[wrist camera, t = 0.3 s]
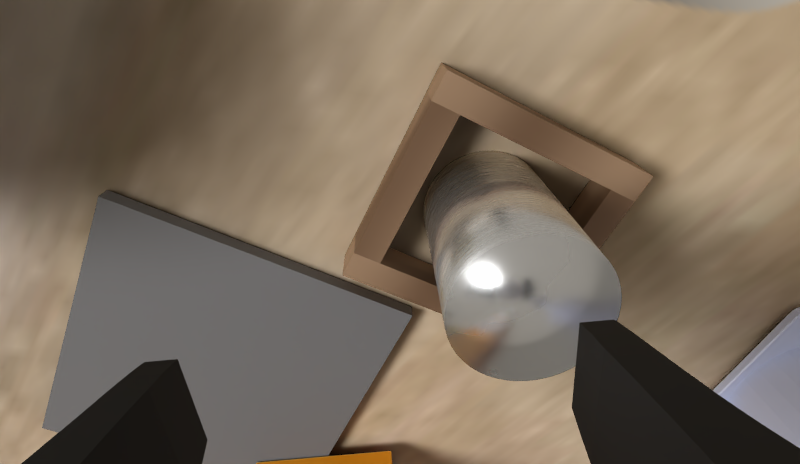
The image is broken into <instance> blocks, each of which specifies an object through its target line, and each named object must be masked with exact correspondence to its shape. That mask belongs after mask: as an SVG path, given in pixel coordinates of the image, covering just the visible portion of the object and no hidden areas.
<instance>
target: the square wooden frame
mask: <svg viewBox="0 0 800 464" xmlns="http://www.w3.org/2000/svg"><path fill="white" fill-rule="evenodd" d="M460 115H461V116H463V117H465V118H467V119H469V120H471V121H473V122H475V123H477V124H479V125H481V126H483V127H485V128H487V129H489V130H491V131H493V132H495V133H497V134H499V135H501V136H503V137H505V138H507V139H509V140H511V141H514V142H516V143H518V144H520V145H522V146H524V147H526V148H528V149H530V150H532V151H534V152H536V153H538V154H540V155H542V156H544V157H546V158H548V159H550V160H552V161H554V162H556V163H558V164H560V165H562V166H564V167H566V168H568V169H570V170H572V171H574V172H576V173H578V174H580V175H582V176H584V177H586V178H588V179H590V181H589V182H588V183H587V185H586V186H585V188H584V189H583V191H582V192H581V194H580V195H579V197H578V198H577V199H576V201H575V202H574V204H573V205H572V207H571V208H570V210H569V211H568V212H569V214H570V215H571V216H572V217H573V218H574V220H575V221H576V222H577V223H578V224H579V226H580V227H581V228H582V229H583V230H584V232H585V233H586V234H587V235H588V236H589V238H590V239H591V240H592V241H593V242H594V244H595V245H596V246H597V247H598V248H599V249H600V248H601V246H602V245H603V244H604V242H605V241H606V240H607V238H608V237H609V236H610V234H611V233H612V232H613V230H614V229H615V228H616V226H617V225H618V224H619V222H620V221H621V219H622V218H623V217H624V215H625V214H626V213H627V211H628V210H629V209H630V207H631V206H632V205H633V203H634V202H635V201H636V199H637V198H638V197H639V195H640V194H641V193H642V191H643V190H644V189H645V187H646V186H647V185H648V183H649V182H650V181H651V179H652V178H653V177H654V176H652V175H651V174H649V173H648V172H646V171H645V170H644V169H642V168H641V167H639V166H638V165H636V164H635V163H634V162H632V161H630V160H628V159H626V158H624V157H622V156H620V155H618V154H616V153H615V152H613V151H611V150H609V149H607V148H605V147H603V146H601V145H599V144H597V143H595V142H593V141H591V140H590V139H588V138H586V137H584V136H582V135H580V134H578V133H576V132H574V131H572V130H570V129H568V128H566V127H564V126H563V125H561V124H559V123H557V122H555V121H553V120H551V119H549V118H547V117H545V116H543V115H541V114H539V113H537V112H536V111H534V110H532V109H530V108H528V107H526V106H524V105H522V104H520V103H518V102H516V101H514V100H512V99H511V98H509V97H507V96H505V95H503V94H501V93H499V92H497V91H495V90H493V89H491V88H489V87H487V86H485V85H484V84H482V83H480V82H478V81H476V80H474V79H472V78H470V77H468V76H466V75H464V74H462V73H460V72H458V71H457V70H455V69H453V68H451V67H449V66H447V65H445V64H443V63H441V64H440V66H439V68H438V70H437V72H436V74H435V76H434V78H433V80H432V82H431V84H430V86H429V88H428V90H427V92H426V94H425V96H424V98H423V100H422V102H421V104H420V106H419V108H418V110H417V112H416V114H415V116H414V118H413V120H412V122H411V124H410V126H409V128H408V130H407V132H406V134H405V136H404V138H403V140H402V142H401V144H400V146H399V148H398V150H397V152H396V154H395V156H394V158H393V160H392V162H391V164H390V166H389V168H388V170H387V172H386V174H385V176H384V178H383V180H382V182H381V184H380V186H379V188H378V190H377V192H376V194H375V196H374V198H373V200H372V202H371V204H370V206H369V208H368V210H367V212H366V214H365V216H364V218H363V220H362V222H361V224H360V226H359V228H358V230H357V232H356V234H355V236H354V238H353V240H352V242H351V244H350V246H349V248H348V250H347V252H346V254H345V260H344V268H343V276H346V277H348V278H351V279H353V280H356V281H358V282H361V283H364V284H366V285H369V286H371V287H374V288H377V289H379V290H382V291H384V292H387V293H389V294H392V295H395V296H397V297H400V298H402V299H405V300H408V301H410V302H413V303H415V304H418V305H420V306H423V307H426V308H428V309H431V310H433V311H436V312H439V313H441V314H442V310H441V305H440V299H439V294H438V289H437V284H436V279H435V274H434V268H433V265H431V264H428V263H426V262H424V261H421V260H419V259H416V258H414V257H411V256H409V255H407V254H404V253H402V252H399V251H397V250H394V249H392V248H389V246H390V244H391V242H392V240H393V239H394V237H395V235H396V233H397V231H398V229H399V227H400V226H401V224H402V222H403V220H404V218H405V216H406V214H407V213H408V211H409V209H410V207H411V205H412V203H413V201H414V200H415V198H416V196H417V194H418V192H419V190H420V188H421V187H422V185H423V183H424V181H425V179H426V177H427V175H428V174H429V172H430V170H431V168H432V166H433V164H434V162H435V161H436V159H437V157H438V155H439V153H440V151H441V150H442V148H443V146H444V144H445V142H446V140H447V138H448V137H449V135H450V133H451V131H452V129H453V127H454V125H455V124H456V122H457V120H458V118H459V116H460Z"/></svg>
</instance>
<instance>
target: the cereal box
mask: <svg viewBox="0 0 800 464" xmlns="http://www.w3.org/2000/svg"><path fill="white" fill-rule="evenodd" d="M256 464H393V463H392V454H391V451H383V452H371V453H360V454H349V455H337V456H326V457H314V458H303V459H291V460H280V461H269V462H257V463H256Z"/></svg>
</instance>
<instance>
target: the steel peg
mask: <svg viewBox="0 0 800 464" xmlns="http://www.w3.org/2000/svg"><path fill="white" fill-rule="evenodd" d="M423 214H424V222H425V227H426V232H427V238H428V243H429V248H430V253H431V258H432V263H433V268H434V274H435V279H436V284H437V289H438V294H439V299H440V305H441V310H442V315H443V320H444V325H445V330H446V334H447V337H448V340H449V342H450V344H451V346H452V348H453V349H454V351H455V352H456V354H457V355H458V356H459V357H460V358H461V359H462V360H463V361H464V362H465V363H466V364H468V365H469V366H470V367H472V368H473V369H475V370H477V371H478V372H481V373H483V374H485V375H487V376H491V377H494V378H498V379H503V380H511V381H530V380H538V379H543V378H547V377H551V376H554V375H557V374H560V373H562V372H565V371H567V370H569V369H571V368H573V367H575V366H576V357H577V346H578V335H579V323H580V322H591V321H602V320H613V319H614V320H616V321H617V319H618V317H619V313H620V309H621V301H622V293H621V285H620V281H619V278H618V276H617V273H616V271H615V269H614V268H613V266H612V265H611V263H610V262H609V260H608V259H607V258H606V257H605V256H604V254H603V253H602V252H601V251H600V250H599V248H598V247H597V246H596V245H595V244H594V242H593V241H592V240H591V239H590V238H589V236H588V235H587V234H586V233H585V232H584V230H583V229H582V228H581V227H580V226H579V224H578V223H577V222H576V221H575V220H574V218H573V217H572V216H571V215H570V214H569V212H568V211H567V210H566V209H565V208H564V206H563V205H562V204H561V203H560V202H559V200H558V199H557V198H556V197H555V196H554V194H553V193H552V192H551V191H550V190H549V188H548V187H547V186H546V185H545V184H544V182H543V181H542V180H541V179H540V178H539V176H538V175H537V174H536V173H535V172H534V170H533V169H532V168H531V167H530V166H529V165H528V164H526V163H525V162H524V161H523V160H521V159H519V158H517V157H515V156H513V155H511V154H508V153H504V152H498V151H481V152H475V153H471V154H468V155H465V156H463V157H460V158H458V159H457V160H455V161H453V162H452V163H450V164H449V165H447V166H446V167H445V168H444V169H443V170H442V171H441V172H440V173H439V174H438V175H437V176H436V177H435V179H434V180H433V182H432V183H431V185H430V187H429V189H428V191H427V194H426V197H425V202H424V213H423Z"/></svg>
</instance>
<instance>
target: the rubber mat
mask: <svg viewBox="0 0 800 464" xmlns="http://www.w3.org/2000/svg"><path fill="white" fill-rule="evenodd" d="M411 317H412V307H410V306H408V305H405V304H403V303H400V302H397V301H395V300H392V299H390V298H387V297H384V296H382V295H379V294H377V293H374V292H371V291H369V290H366V289H364V288H361V287H358V286H356V285H353V284H351V283H348V282H345V281H343V280H340V279H338V278H335V277H332V276H330V275H327V274H325V273H322V272H319V271H317V270H314V269H312V268H309V267H306V266H304V265H301V264H299V263H296V262H293V261H291V260H288V259H286V258H283V257H280V256H278V255H275V254H273V253H270V252H267V251H265V250H262V249H260V248H257V247H254V246H252V245H249V244H247V243H244V242H241V241H239V240H236V239H234V238H231V237H228V236H226V235H223V234H221V233H218V232H215V231H213V230H210V229H208V228H205V227H202V226H200V225H197V224H195V223H192V222H189V221H187V220H184V219H182V218H179V217H176V216H174V215H171V214H169V213H166V212H163V211H161V210H158V209H156V208H153V207H150V206H148V205H145V204H143V203H140V202H137V201H135V200H132V199H130V198H127V197H124V196H122V195H119V194H117V193H114V192H111V191H109V190H106V191H105V192H104V193H102V194H101V195H100V196H98V201H97V205H96V209H95V213H94V217H93V221H92V225H91V229H90V233H89V238H88V242H87V246H86V250H85V254H84V258H83V262H82V266H81V270H80V275H79V279H78V283H77V287H76V291H75V295H74V299H73V303H72V307H71V312H70V316H69V320H68V324H67V328H66V332H65V336H64V340H63V344H62V349H61V353H60V357H59V361H58V365H57V369H56V373H55V377H54V381H53V386H52V390H51V394H50V398H49V402H48V406H47V410H46V414H45V418H44V423H43V427H42V428H44V429H48V430H51V431H55V432H60V431H61V430H62V429H64V428H65V427H66V426H67V425H68V424H69V423H71V422H72V421H73V420H74V419H75V418H77V417H78V416H79V415H80V414H81V413H83V412H84V411H85V410H86V409H87V408H88V407H90V406H91V405H92V404H93V403H94V402H95V401H97V400H98V399H99V398H100V397H101V396H103V395H104V394H105V393H106V392H107V391H109V390H110V389H111V388H112V387H113V386H115V385H116V384H117V383H118V382H119V381H121V380H122V379H123V378H124V377H125V376H127V375H128V374H129V373H130V372H132V371H133V370H134V369H136V368H137V367H138V366H140V365H141V364H142V363H144V362H151V361H162V360H173V359H178V361H179V364H180V367H181V370H182V372H183V375H184V378H185V380H186V383H187V386H188V388H189V391H190V394H191V397H192V399H193V402H194V405H195V407H196V410H197V413H198V415H199V418H200V421H201V424H202V426H203V429H204V432H205V434H206V437H207V445H206V449H205V454H204V458H203V462H202V464H256V463H257V462H269V461H280V460H291V459H303V458H314V457H326V456H328V455H329V453H330V452H331V450H332V448H333V447H334V445H335V443H336V442H337V440H338V438H339V437H340V435H341V433H342V432H343V430H344V428H345V427H346V425H347V424H348V422H349V420H350V419H351V417H352V415H353V414H354V412H355V410H356V409H357V407H358V405H359V404H360V402H361V400H362V399H363V397H364V395H365V394H366V392H367V390H368V389H369V387H370V385H371V384H372V382H373V380H374V379H375V377H376V375H377V374H378V372H379V370H380V369H381V367H382V365H383V364H384V362H385V360H386V359H387V357H388V355H389V354H390V352H391V350H392V349H393V347H394V345H395V344H396V342H397V341H398V339H399V337H400V336H401V334H402V332H403V331H404V329H405V327H406V326H407V324H408V322H409V321H410V319H411Z"/></svg>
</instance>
